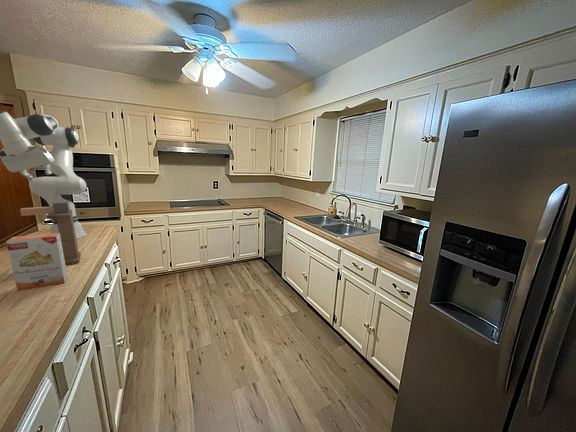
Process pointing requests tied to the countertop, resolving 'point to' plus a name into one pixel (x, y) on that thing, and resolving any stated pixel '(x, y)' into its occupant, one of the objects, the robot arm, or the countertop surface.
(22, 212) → the terracotta bar
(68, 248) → the walnut stand
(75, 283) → the countertop surface
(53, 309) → the countertop surface
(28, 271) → the cracker box
